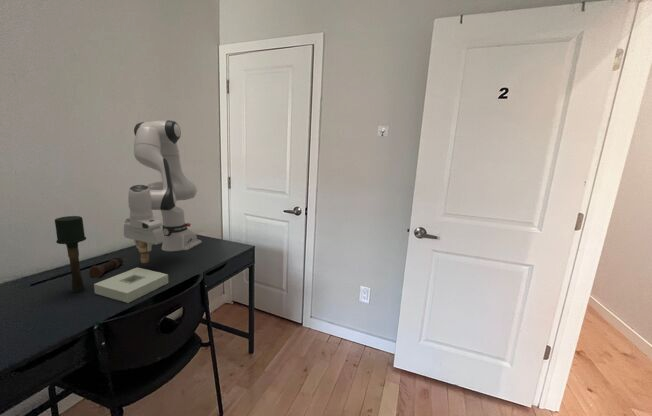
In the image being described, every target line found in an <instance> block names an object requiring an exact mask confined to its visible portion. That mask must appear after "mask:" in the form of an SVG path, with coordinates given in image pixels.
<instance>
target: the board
mask: <svg viewBox="0 0 652 416" xmlns="http://www.w3.org/2000/svg"><path fill="white" fill-rule="evenodd" d="M167 284H169V274H168V273H163V272H160V271H155V270H151V269H146V268H141V267H135V268H131V269H130V270H126V271H125V272H122V273H119V274H116V275H114V276H112V277H109V278H106V279H104V280H101V281H98V282H96V283H94V284H93V288H94V294H95V295H99V296H103V297H106V298H109V299H112V300H115V301H120V302H123V303H126V304H129V303H131V302H133V301H135V300H137V299H139V298H142V297H144V296H145V295H147V294H149V293H151V292H153V291H155V290H157V289H159V288H161V287H163V286H166V285H167Z"/></svg>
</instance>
